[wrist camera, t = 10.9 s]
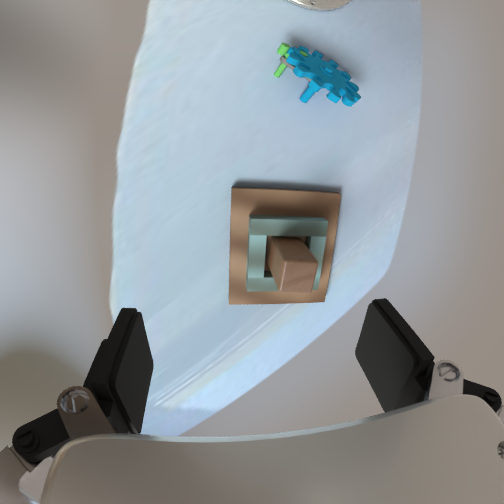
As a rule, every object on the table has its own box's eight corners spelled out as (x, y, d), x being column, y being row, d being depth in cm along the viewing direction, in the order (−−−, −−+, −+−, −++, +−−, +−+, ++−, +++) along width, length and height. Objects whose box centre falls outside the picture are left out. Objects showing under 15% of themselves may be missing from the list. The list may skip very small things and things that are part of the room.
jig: (231, 187, 35) (232, 191, 32) (337, 192, 37) (347, 197, 34) (228, 300, 41) (229, 312, 38) (321, 297, 43) (328, 309, 40)
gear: (368, 83, 30) (358, 111, 25) (341, 110, 35) (325, 143, 30) (299, 32, 28) (269, 46, 23) (277, 63, 33) (245, 85, 28)
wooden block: (270, 234, 37) (284, 259, 29) (300, 237, 37) (320, 261, 30) (266, 263, 38) (277, 293, 31) (295, 265, 39) (312, 294, 31)
